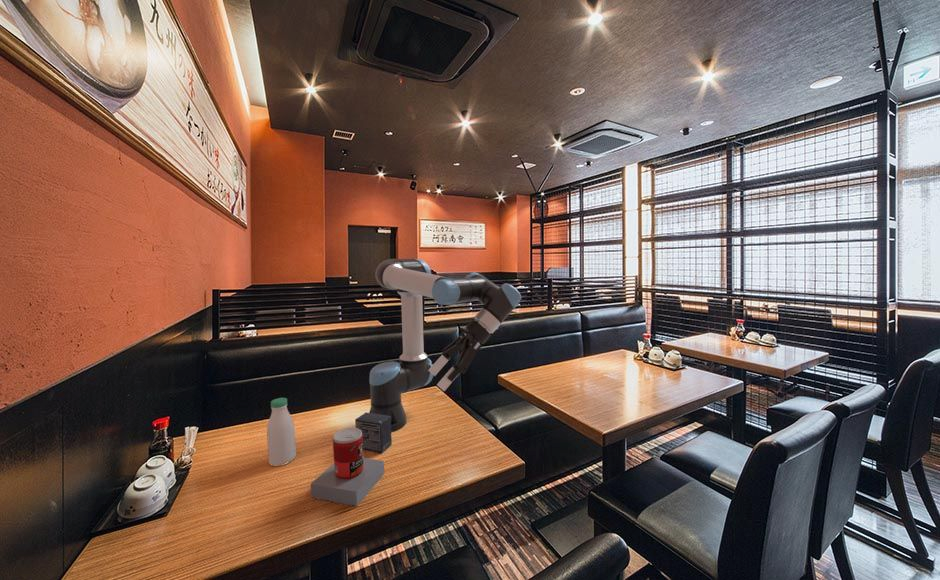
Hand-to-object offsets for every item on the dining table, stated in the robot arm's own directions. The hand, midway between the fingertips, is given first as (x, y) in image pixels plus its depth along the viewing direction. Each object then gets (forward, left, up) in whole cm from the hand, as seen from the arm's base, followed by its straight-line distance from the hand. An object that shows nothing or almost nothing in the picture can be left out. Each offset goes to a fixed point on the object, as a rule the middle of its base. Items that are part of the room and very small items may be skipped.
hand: (435, 380), depth 100 cm
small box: (-7, -26, -28) cm, 39 cm away
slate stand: (+13, -22, -28) cm, 38 cm away
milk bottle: (+7, -51, -28) cm, 59 cm away
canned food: (+13, -22, -24) cm, 35 cm away
